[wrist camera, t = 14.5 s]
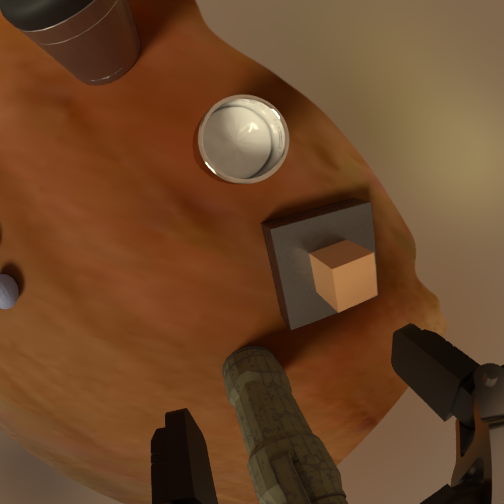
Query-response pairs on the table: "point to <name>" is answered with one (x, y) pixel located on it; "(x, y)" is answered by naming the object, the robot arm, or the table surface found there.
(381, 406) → the table surface
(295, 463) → the green stone statue
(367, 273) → the light brown cube
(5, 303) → the blocks
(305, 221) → the plate
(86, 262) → the table surface
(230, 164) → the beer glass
